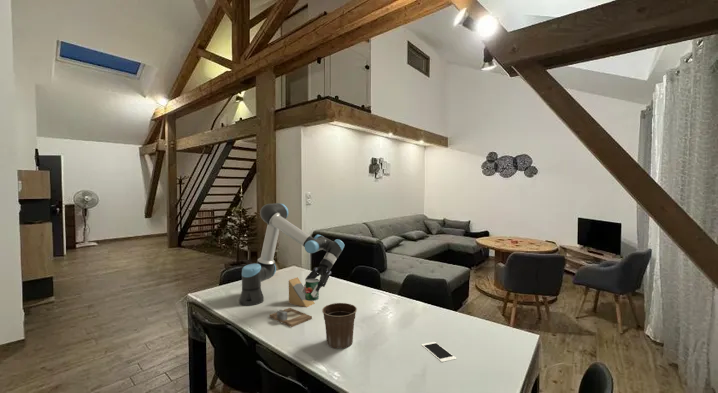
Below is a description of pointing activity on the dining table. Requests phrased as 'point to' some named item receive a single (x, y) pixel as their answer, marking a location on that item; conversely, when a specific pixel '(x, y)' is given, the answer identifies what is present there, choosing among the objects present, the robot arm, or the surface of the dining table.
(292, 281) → the sandwich container
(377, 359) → the dining table surface
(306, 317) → the walnut board
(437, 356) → the cell phone
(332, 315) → the plant pot
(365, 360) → the dining table surface
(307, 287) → the canned tomato
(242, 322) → the dining table surface
